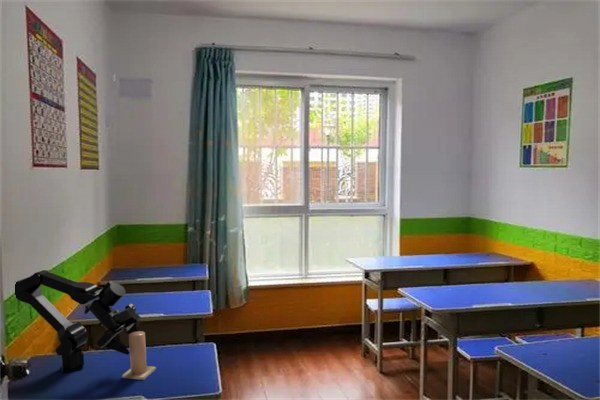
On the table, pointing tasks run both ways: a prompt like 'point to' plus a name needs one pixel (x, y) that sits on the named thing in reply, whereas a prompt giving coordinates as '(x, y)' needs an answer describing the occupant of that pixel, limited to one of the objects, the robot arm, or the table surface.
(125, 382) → the table surface
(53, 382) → the table surface
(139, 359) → the tan rounded cylinder
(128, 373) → the coaster
